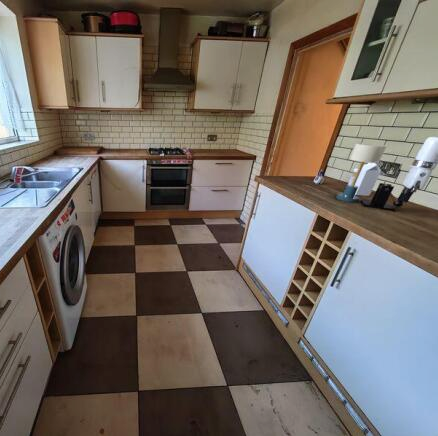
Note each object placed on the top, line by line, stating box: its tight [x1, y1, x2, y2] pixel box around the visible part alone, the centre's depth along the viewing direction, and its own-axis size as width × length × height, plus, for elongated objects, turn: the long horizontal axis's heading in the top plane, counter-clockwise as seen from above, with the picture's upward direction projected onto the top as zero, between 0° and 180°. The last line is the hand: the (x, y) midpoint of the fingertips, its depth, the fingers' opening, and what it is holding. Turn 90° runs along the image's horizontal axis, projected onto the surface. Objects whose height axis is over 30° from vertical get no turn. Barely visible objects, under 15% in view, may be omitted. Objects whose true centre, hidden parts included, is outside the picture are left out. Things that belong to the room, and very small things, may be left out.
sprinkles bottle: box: [347, 167, 359, 185], centre depth 144 cm, size 5×5×13 cm
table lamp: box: [335, 142, 387, 203], centre depth 123 cm, size 12×12×30 cm
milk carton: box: [355, 162, 381, 197], centre depth 135 cm, size 7×7×19 cm
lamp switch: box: [384, 183, 405, 208], centre depth 116 cm, size 13×4×4 cm
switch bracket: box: [359, 182, 396, 212], centre depth 118 cm, size 12×9×12 cm
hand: (402, 200), depth 115 cm, fingers closed
